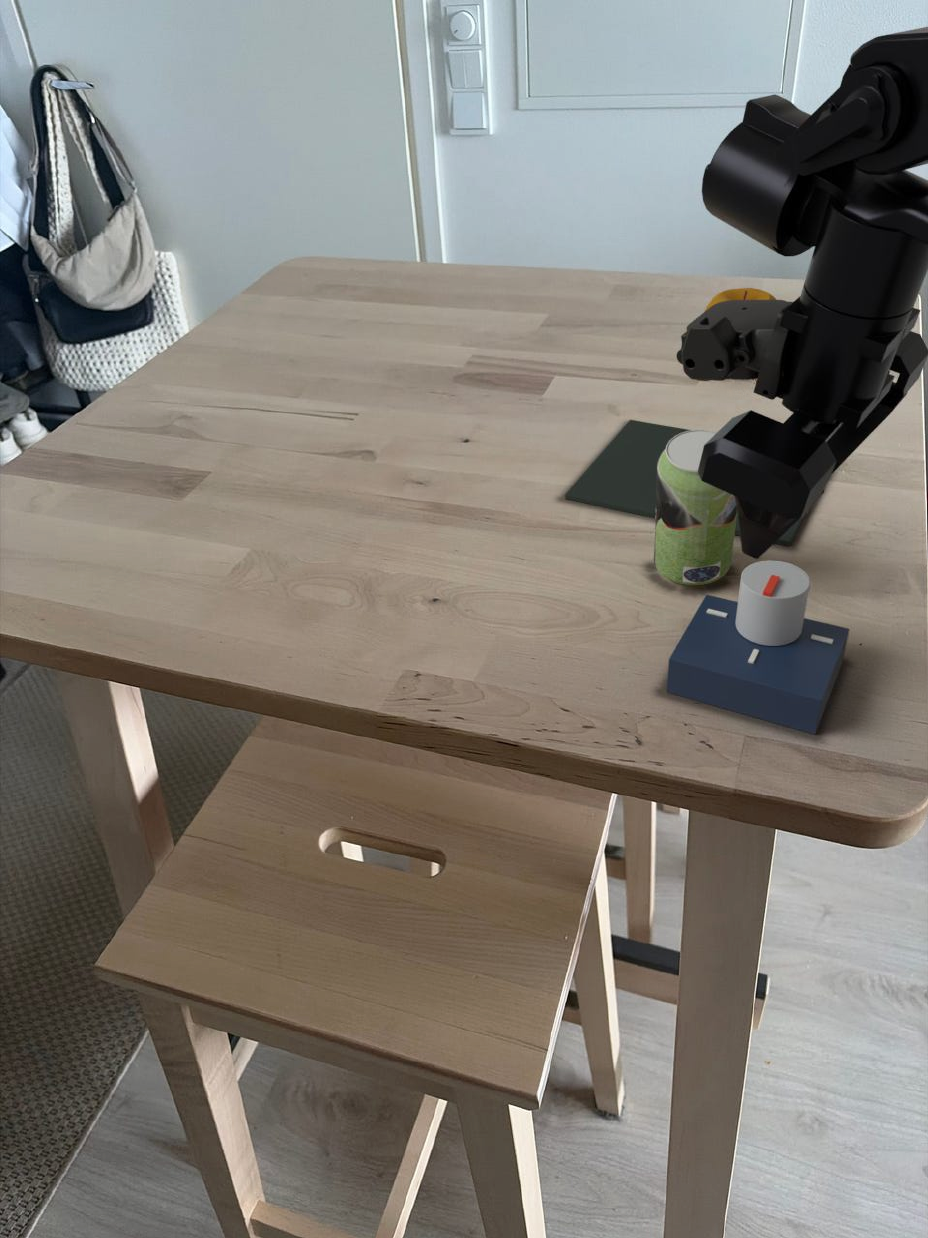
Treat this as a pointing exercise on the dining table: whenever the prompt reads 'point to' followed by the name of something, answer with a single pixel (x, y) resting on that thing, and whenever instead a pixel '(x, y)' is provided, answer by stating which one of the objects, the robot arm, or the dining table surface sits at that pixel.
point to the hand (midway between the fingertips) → (782, 517)
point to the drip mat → (634, 473)
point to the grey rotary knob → (772, 602)
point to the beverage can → (691, 515)
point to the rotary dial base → (757, 668)
